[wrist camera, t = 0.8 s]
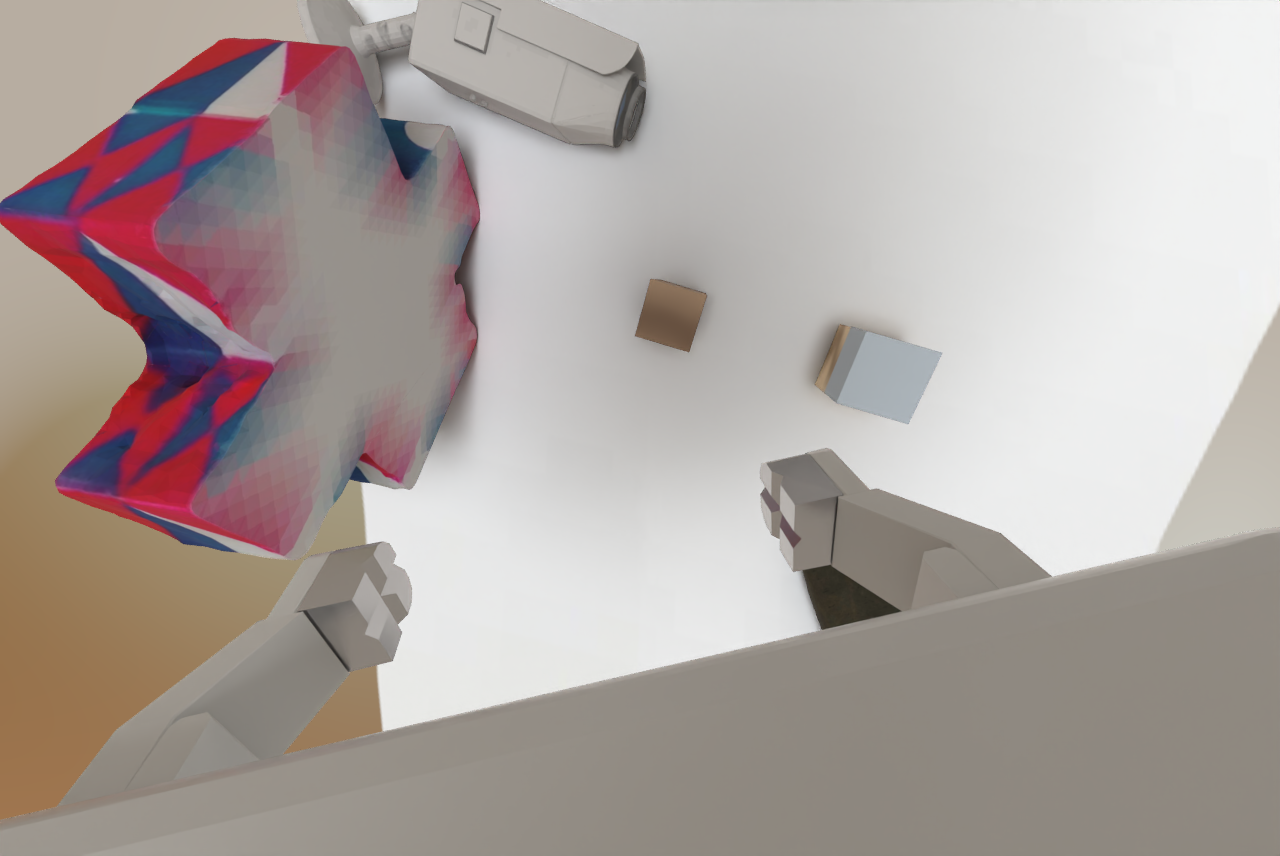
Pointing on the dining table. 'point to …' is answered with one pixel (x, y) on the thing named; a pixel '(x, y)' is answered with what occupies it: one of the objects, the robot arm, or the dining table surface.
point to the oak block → (832, 357)
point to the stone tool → (842, 598)
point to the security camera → (503, 61)
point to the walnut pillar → (670, 314)
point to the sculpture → (262, 292)
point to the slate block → (881, 375)
